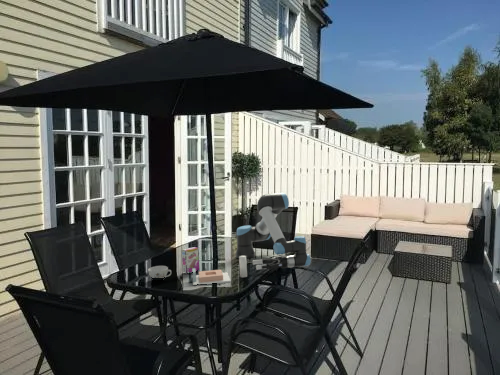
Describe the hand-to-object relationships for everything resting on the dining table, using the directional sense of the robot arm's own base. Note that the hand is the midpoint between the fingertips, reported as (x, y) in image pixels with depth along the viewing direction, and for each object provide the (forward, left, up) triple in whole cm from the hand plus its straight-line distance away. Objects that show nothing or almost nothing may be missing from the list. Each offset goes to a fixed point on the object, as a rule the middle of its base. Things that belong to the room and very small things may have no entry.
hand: (254, 264), depth 273 cm
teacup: (-10, -60, -7) cm, 62 cm away
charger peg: (0, -7, -7) cm, 10 cm away
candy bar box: (-23, -40, -7) cm, 47 cm away
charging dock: (0, -28, -7) cm, 29 cm away
